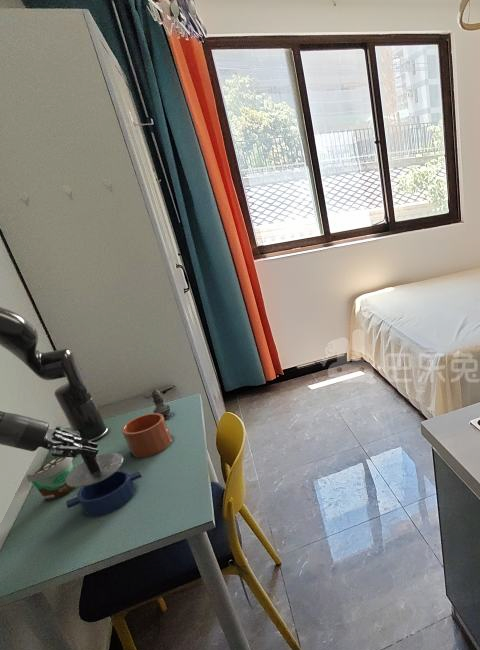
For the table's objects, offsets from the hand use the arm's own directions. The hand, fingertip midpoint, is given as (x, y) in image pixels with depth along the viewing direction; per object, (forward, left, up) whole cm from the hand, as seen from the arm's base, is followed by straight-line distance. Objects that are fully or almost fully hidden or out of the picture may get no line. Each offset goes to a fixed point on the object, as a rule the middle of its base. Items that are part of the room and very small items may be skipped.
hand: (96, 450), depth 119 cm
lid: (0, -2, -6) cm, 6 cm away
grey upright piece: (-39, +19, -16) cm, 46 cm away
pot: (-21, +12, -16) cm, 29 cm away
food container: (-15, -12, -16) cm, 25 cm away
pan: (0, -2, -16) cm, 16 cm away
